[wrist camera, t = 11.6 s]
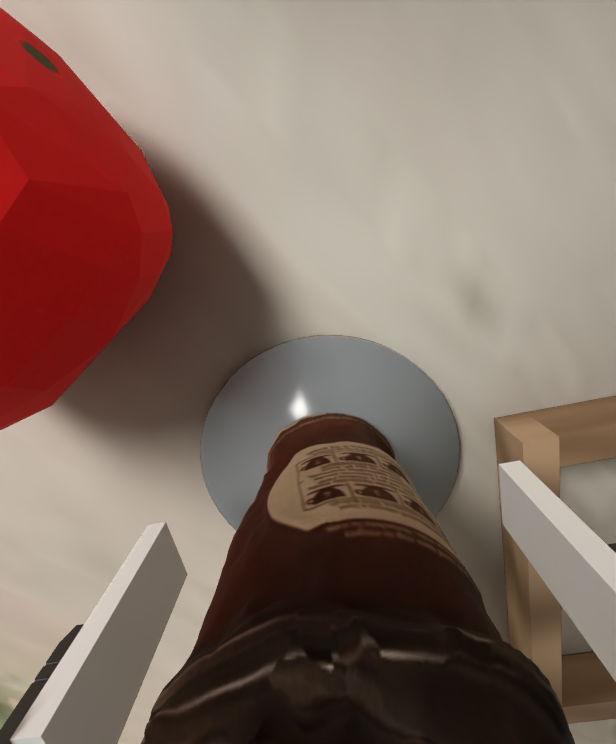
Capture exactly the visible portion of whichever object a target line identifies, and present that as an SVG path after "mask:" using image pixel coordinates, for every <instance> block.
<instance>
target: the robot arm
mask: <svg viewBox="0 0 616 744" xmlns="http://www.w3.org/2000/svg"><path fill="white" fill-rule="evenodd" d="M499 477H500V492H501V506H502V521H503V525H504V527H505V528H506V529H507V531H508V532H509V534H510V535H511V536H512V538H513V539H514V541H515V542H516V543H517V545H518V546H519V547H520V549H521V550H522V552H523V553H524V554H525V556H526V557H527V559H528V560H529V561H530V563H531V564H532V566H533V567H534V568H535V570H536V571H537V573H538V574H539V575H540V577H541V578H542V580H543V581H544V582H545V584H546V585H547V587H548V588H549V589H550V591H551V592H552V594H553V595H554V596H555V598H556V599H557V601H558V602H559V603H560V605H561V606H562V608H563V609H564V610H565V612H566V613H567V615H568V616H569V617H570V619H571V620H572V622H573V623H574V624H575V626H576V627H577V629H578V630H579V631H580V633H581V634H582V636H583V637H584V638H585V640H586V641H587V642H588V644H589V645H590V647H591V648H592V649H593V651H594V652H595V654H596V655H597V656H598V658H599V659H600V661H601V662H602V663H603V665H604V666H605V668H606V669H607V670H608V672H609V673H610V675H611V676H612V677H613V679H614V680H615V682H616V543H614V544H608V545H607V544H606V543H605V542H604V541H603V540H602V539H601V538H600V537H599V536H598V535H596V534H595V533H594V532H593V531H592V530H591V529H590V528H589V527H588V526H587V525H586V524H585V523H584V522H583V521H582V520H581V519H580V518H579V517H578V516H577V515H576V514H575V513H574V512H573V511H572V510H571V509H570V508H569V507H568V506H566V505H565V504H564V503H563V502H562V501H561V500H560V499H559V498H558V497H557V496H556V495H555V494H554V493H553V492H552V491H551V490H550V489H549V488H548V487H547V486H546V485H545V484H544V483H543V482H542V481H541V480H540V479H539V478H538V477H536V476H535V475H534V474H533V473H532V472H531V471H530V470H529V469H528V468H527V467H526V466H525V465H524V464H523V463H522V462H521V461H520V460H519V461H514V462H508V463H502V464H499ZM186 576H187V572H186V570H185V567H184V565H183V562H182V560H181V558H180V555H179V553H178V550H177V548H176V546H175V543H174V541H173V538H172V536H171V534H170V531H169V529H168V526H167V524H166V522H163V523H157V524H151V525H148V526H147V527H146V529H145V530H144V532H143V534H142V535H141V537H140V538H139V540H138V541H137V543H136V544H135V546H134V547H133V549H132V551H131V552H130V554H129V555H128V557H127V558H126V560H125V561H124V563H123V565H122V566H121V568H120V569H119V571H118V572H117V574H116V575H115V577H114V579H113V580H112V582H111V583H110V585H109V586H108V588H107V589H106V591H105V593H104V594H103V596H102V597H101V599H100V600H99V602H98V603H97V605H96V607H95V608H94V610H93V611H92V613H91V614H90V616H89V617H88V619H87V620H86V622H85V624H82V625H76V626H75V627H74V628H73V629H72V631H71V632H70V633H69V634H68V635H67V636H66V637H65V638H64V639H63V640H62V641H61V642H60V643H59V644H58V646H57V647H56V649H55V650H54V652H53V653H52V655H51V656H50V657H49V659H48V660H47V662H46V666H43V668H42V669H41V671H40V672H39V674H38V675H37V677H36V678H35V682H34V683H32V684H31V686H30V687H29V688H28V690H27V691H26V693H25V694H24V696H23V697H22V699H21V700H20V702H19V703H18V705H17V706H16V708H15V709H14V711H13V712H12V714H11V715H10V717H9V718H8V719H7V721H6V722H5V724H4V725H3V727H2V728H1V730H0V744H117V743H118V740H119V738H120V736H121V733H122V731H123V728H124V726H125V723H126V721H127V719H128V716H129V714H130V711H131V709H132V707H133V704H134V702H135V699H136V697H137V695H138V692H139V690H140V687H141V685H142V682H143V680H144V678H145V675H146V673H147V670H148V668H149V666H150V663H151V661H152V658H153V656H154V654H155V651H156V649H157V646H158V644H159V642H160V639H161V637H162V634H163V632H164V629H165V627H166V625H167V622H168V620H169V617H170V615H171V613H172V610H173V608H174V605H175V603H176V601H177V598H178V596H179V593H180V591H181V588H182V586H183V584H184V581H185V579H186Z"/></svg>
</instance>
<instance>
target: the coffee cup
mask: <svg viewBox="0 0 616 744" xmlns="http://www.w3.org/2000/svg"><path fill="white" fill-rule="evenodd" d="M144 735H145V736H144V738H143V740H142V742H141V744H575V742H574V740H573V737H572V735H571V732H570V730H569V726H568V722H567V720H566V717H565V714H564V711H563V708H562V706H561V703H560V701H559V699H558V697H557V695H556V693H555V691H554V690H553V689H552V687H551V684H550V681H549V680H548V678H547V677H546V676H545V675H544V674H543V673H542V672H541V671H540V669H539V667H538V666H537V665H536V664H535V663H534V662H533V661H532V660H531V659H528V658H527V657H526V656H525V655H524V654H523V653H522V652H521V651H520V650H517V649H514V648H513V647H512V646H511V645H510V644H508V643H507V642H503V641H502V638H501V636H500V633H499V632H498V630H497V629H496V627H495V626H494V624H493V623H492V621H491V619H490V618H489V616H488V615H487V613H486V610H485V607H484V603H483V600H482V596H481V594H480V592H479V590H478V588H477V586H476V584H475V583H474V581H473V579H472V578H471V576H470V575H469V573H468V572H467V570H466V569H465V567H464V566H463V565H462V563H461V561H460V560H459V558H458V556H457V555H456V553H455V552H454V550H453V549H452V547H451V545H450V544H449V542H448V541H447V539H446V537H445V536H444V534H443V532H442V531H441V529H440V527H439V526H438V524H437V522H436V520H435V518H434V516H433V515H432V513H431V512H430V511H429V510H428V508H427V506H426V505H425V504H424V503H423V501H422V499H421V498H420V496H419V494H418V493H417V491H416V489H415V487H414V485H413V483H412V481H411V480H410V478H409V477H408V476H407V474H406V473H405V472H404V470H403V469H402V467H401V466H400V465H399V464H398V463H397V462H396V461H395V453H394V451H393V449H392V447H391V445H390V444H389V442H388V441H387V439H386V438H385V436H384V435H383V434H382V433H380V432H379V431H378V430H377V429H376V428H374V427H373V426H372V425H371V424H369V423H368V422H367V421H365V420H363V419H362V418H359V417H356V416H352V415H347V414H342V413H322V414H317V415H312V416H305V417H301V418H299V419H298V420H297V421H295V422H294V423H292V424H290V425H288V426H286V427H284V428H282V429H281V430H280V431H278V432H277V435H276V437H275V440H274V443H273V445H272V447H271V449H269V452H268V459H267V473H266V474H265V475H264V479H263V482H262V484H261V487H260V489H259V491H258V493H257V496H256V499H255V501H254V502H253V503H252V504H251V506H250V507H249V508H248V510H247V512H246V513H245V515H244V517H243V519H242V521H241V523H240V525H239V527H238V529H237V531H236V533H235V535H234V537H233V540H232V542H231V545H230V547H229V550H228V554H227V558H226V562H225V565H224V567H223V569H222V573H221V576H220V579H219V582H218V586H217V589H216V592H215V595H214V597H213V600H212V602H211V605H210V607H209V609H208V611H207V614H206V616H205V619H204V622H203V625H202V628H201V630H200V633H199V636H198V640H197V642H196V644H195V647H194V649H193V651H192V653H191V655H190V657H189V658H188V660H187V661H186V663H185V664H184V666H183V667H182V669H181V670H180V671H179V672H178V673H177V674H176V675H175V676H174V677H173V679H172V680H171V681H170V682H169V683H168V684H167V685H166V686H165V687H164V689H163V690H162V692H161V694H160V695H159V697H158V699H157V701H156V703H155V705H154V706H153V708H152V711H151V716H150V719H149V722H148V723H147V725H146V729H145V733H144Z"/></svg>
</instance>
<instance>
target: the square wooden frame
mask: <svg viewBox="0 0 616 744" xmlns="http://www.w3.org/2000/svg"><path fill="white" fill-rule="evenodd" d="M494 424H495V438H496V452H497V466H498V480H499V495H500V509H501V523H502V537H503V551H504V566H505V580H506V594H507V608H508V622H509V636H510V645H511V646H512V647H513V648H514V649H517V650H520V651H521V652H522V653H523V654H524V655H525V656H526V657H527V658H528V659H531V660H532V661H533V662H534V663H535V664H536V665H537V666H538V667H539V669H540V671H541V672H542V673H543V674H544V675H545V676H546V677H547V678H548V680H549V681H550V684H551V687H552V689H553V690H554V691H555V693H556V695H557V697H558V699H559V701H560V703H561V706H562V708H563V711H564V714H565V717H566V720H567V722H568V724H569V723H578V722H587V721H596V720H605V719H615V718H616V682H615V680H614V679H613V677H612V676H611V675H610V673H609V672H608V670H607V669H606V668H605V666H604V665H603V663H602V662H601V661H600V659H599V658H598V656H597V655H596V654H595V652H590V653H582V654H574V655H566V656H562V655H561V605H560V603H559V602H558V601H557V599H556V598H555V596H554V595H553V594H552V592H551V591H550V589H549V588H548V587H547V585H546V584H545V582H544V581H543V580H542V578H541V577H540V575H539V574H538V573H537V571H536V570H535V568H534V567H533V566H532V564H531V563H530V561H529V560H528V559H527V557H526V556H525V554H524V553H523V552H522V550H521V549H520V547H519V546H518V545H517V543H516V542H515V541H514V539H513V538H512V536H511V535H510V534H509V532H508V531H507V529H506V528H505V527H504V525H503V521H502V506H501V492H500V477H499V464H502V463H508V462H514V461H519V460H520V461H521V462H522V463H523V464H524V465H525V466H526V467H527V468H528V469H529V470H530V471H531V472H532V473H533V474H534V475H535V476H536V477H538V478H539V479H540V480H541V481H542V482H543V483H544V484H545V485H546V486H547V487H548V488H549V489H550V490H551V491H552V492H553V493H554V494H555V495H556V496H557V497H558V498H559V499H560V467H562V466H568V465H574V464H580V463H586V462H592V461H598V460H603V459H609V458H615V457H616V396H612V397H606V398H601V399H596V400H590V401H585V402H579V403H574V404H569V405H563V406H558V407H552V408H547V409H542V410H536V411H531V412H525V413H520V414H515V415H509V416H504V417H498V418H494Z"/></svg>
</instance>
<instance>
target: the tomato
mask: <svg viewBox="0 0 616 744" xmlns="http://www.w3.org/2000/svg"><path fill="white" fill-rule="evenodd" d="M172 235H173V229H172V224H171V218H170V213H169V207H168V204H167V202H166V200H165V198H164V196H163V194H162V192H161V190H160V188H159V186H158V184H157V182H156V180H155V178H154V176H153V174H152V172H151V170H150V168H149V165H148V163H147V161H146V159H145V157H144V155H143V153H142V151H141V150H140V149H139V148H138V146H137V145H136V144H135V143H134V142H133V141H132V139H131V138H130V137H129V136H128V135H127V134H126V132H125V131H124V130H123V129H122V128H121V127H120V125H119V124H118V123H117V122H116V121H115V120H114V119H113V117H112V116H111V115H110V114H109V113H108V112H107V110H106V109H105V108H104V107H103V106H102V105H101V103H100V102H99V101H98V100H97V99H96V98H95V96H94V95H93V94H92V93H91V92H90V91H89V89H88V88H87V87H86V86H85V85H84V84H83V82H82V81H81V80H80V79H79V78H78V77H77V75H76V74H75V73H74V72H73V71H72V70H71V68H70V67H69V66H68V65H67V64H66V63H65V62H64V60H63V59H62V58H61V57H60V56H59V55H58V54H57V53H56V52H55V51H53V50H52V49H51V48H50V47H49V46H47V45H46V44H45V43H44V42H43V41H41V40H40V39H39V38H38V37H37V36H35V35H34V34H33V33H32V32H30V31H29V30H28V29H27V28H25V27H24V26H23V25H22V24H20V23H19V22H18V21H17V20H15V19H14V18H13V17H12V16H10V15H9V14H8V13H7V12H5V11H4V10H3V9H2V8H0V430H2V429H4V428H6V427H8V426H10V425H12V424H14V423H16V422H19V421H21V420H23V419H25V418H27V417H29V416H31V415H33V414H35V413H37V412H39V411H41V410H43V409H46V408H48V407H50V406H52V405H53V404H54V403H55V402H56V401H57V399H58V398H59V397H60V396H61V395H62V394H63V393H64V392H65V391H66V390H67V388H68V387H69V386H70V385H71V384H72V383H73V382H74V381H75V380H76V379H77V378H78V376H79V375H80V374H81V373H82V372H83V371H84V370H85V369H86V368H87V367H88V366H89V364H90V363H91V362H92V361H93V360H94V359H95V358H96V357H97V356H98V355H99V353H100V352H101V351H102V350H103V349H104V348H105V347H106V346H107V345H108V344H109V343H110V341H111V340H112V339H113V338H114V337H115V336H116V335H117V334H118V333H119V331H120V330H121V329H122V328H123V327H124V326H125V325H126V324H127V323H128V322H129V321H130V320H131V319H132V318H133V317H134V316H135V315H136V314H137V312H138V311H139V310H140V309H141V308H142V307H143V306H144V305H145V304H146V303H147V302H148V301H149V299H150V297H151V295H152V293H153V291H154V289H155V287H156V285H157V283H158V280H159V278H160V276H161V274H162V272H163V270H164V268H165V266H166V264H167V262H168V259H169V257H170V255H171V251H172Z"/></svg>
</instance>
